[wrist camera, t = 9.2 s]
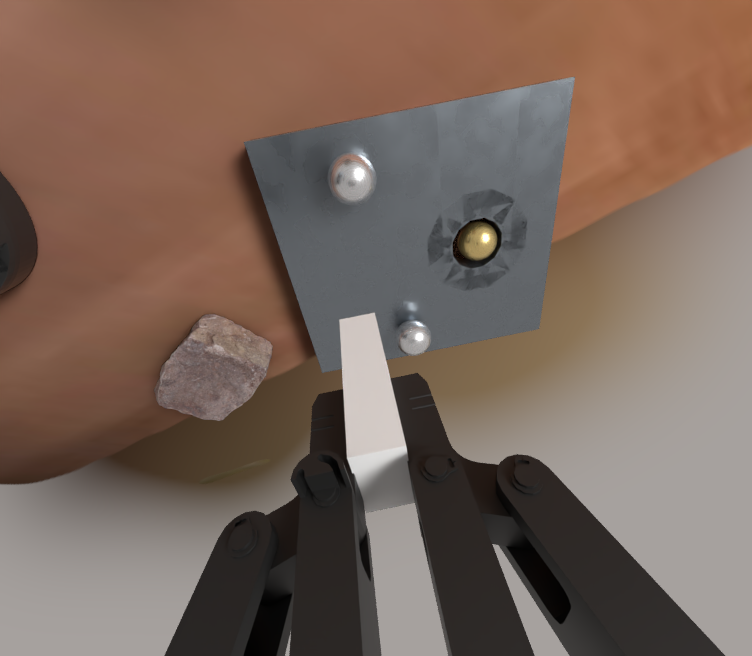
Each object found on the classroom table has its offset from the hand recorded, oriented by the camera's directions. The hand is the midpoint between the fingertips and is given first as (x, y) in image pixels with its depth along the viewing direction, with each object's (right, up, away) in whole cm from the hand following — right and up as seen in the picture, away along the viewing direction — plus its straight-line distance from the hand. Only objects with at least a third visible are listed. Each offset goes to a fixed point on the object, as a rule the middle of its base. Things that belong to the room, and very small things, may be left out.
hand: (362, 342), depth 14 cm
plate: (+4, +8, +17) cm, 20 cm away
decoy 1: (-1, +11, +9) cm, 15 cm away
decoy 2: (+4, 0, +18) cm, 18 cm away
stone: (-17, -3, +22) cm, 28 cm away
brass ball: (+10, +9, +16) cm, 20 cm away
